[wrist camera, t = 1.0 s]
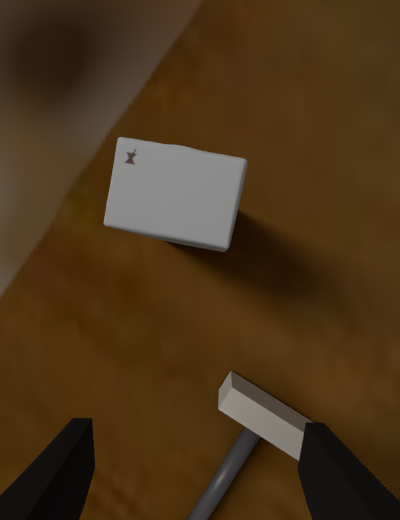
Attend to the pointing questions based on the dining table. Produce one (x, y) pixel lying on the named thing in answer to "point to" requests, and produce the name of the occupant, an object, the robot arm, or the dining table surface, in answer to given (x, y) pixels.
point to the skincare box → (175, 193)
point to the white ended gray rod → (250, 434)
